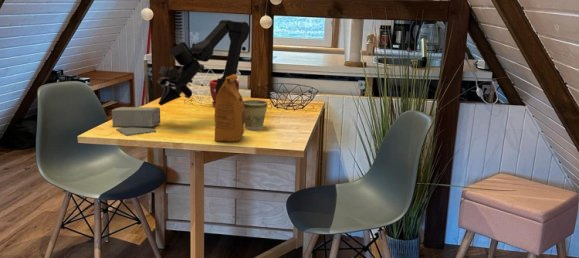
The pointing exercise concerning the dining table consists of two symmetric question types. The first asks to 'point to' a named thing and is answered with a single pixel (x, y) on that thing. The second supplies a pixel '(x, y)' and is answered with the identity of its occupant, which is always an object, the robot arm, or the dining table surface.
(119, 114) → the skincare box
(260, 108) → the ceramic cup
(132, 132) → the mat
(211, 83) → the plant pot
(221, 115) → the coffee package
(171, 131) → the dining table surface
